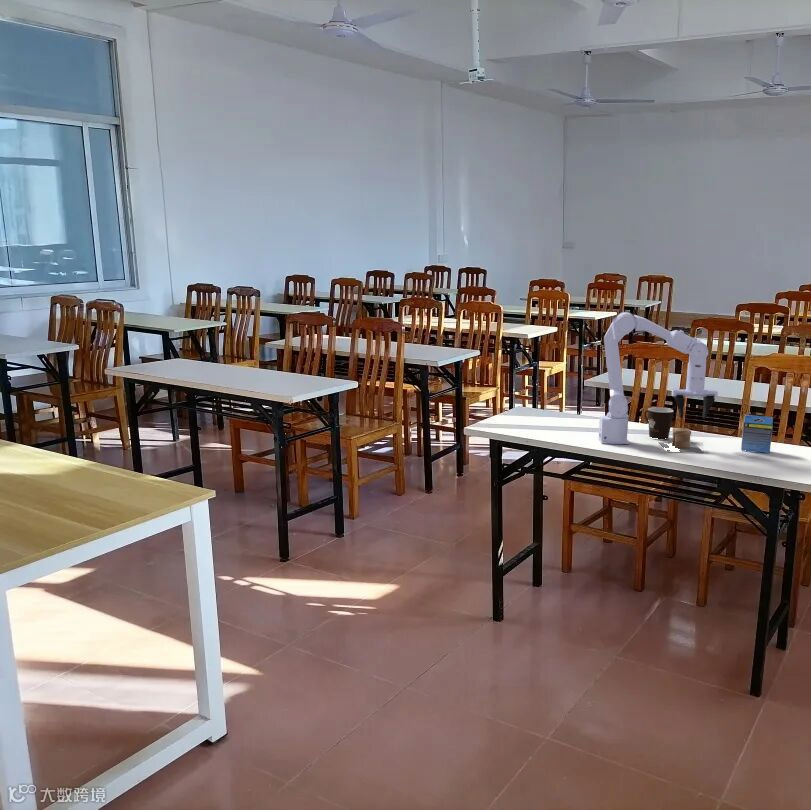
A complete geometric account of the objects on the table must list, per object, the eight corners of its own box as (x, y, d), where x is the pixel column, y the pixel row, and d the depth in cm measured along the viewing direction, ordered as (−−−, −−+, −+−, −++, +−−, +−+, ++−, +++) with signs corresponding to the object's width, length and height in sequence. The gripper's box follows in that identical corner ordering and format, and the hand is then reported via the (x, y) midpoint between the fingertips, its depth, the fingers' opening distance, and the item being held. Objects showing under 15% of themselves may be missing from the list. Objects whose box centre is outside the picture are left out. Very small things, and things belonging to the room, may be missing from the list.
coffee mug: (674, 440, 287) (676, 412, 285) (649, 440, 287) (651, 412, 285) (665, 433, 298) (667, 406, 296) (641, 432, 299) (642, 405, 297)
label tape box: (769, 451, 275) (773, 414, 272) (769, 454, 271) (773, 417, 268) (740, 448, 278) (744, 412, 275) (740, 451, 274) (744, 414, 272)
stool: (674, 448, 275) (675, 430, 274) (671, 445, 279) (672, 427, 278) (689, 448, 274) (691, 431, 273) (686, 445, 279) (688, 428, 278)
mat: (666, 452, 271) (666, 451, 271) (658, 443, 283) (658, 442, 283) (703, 453, 271) (703, 452, 271) (694, 444, 282) (694, 443, 282)
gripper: (676, 379, 272) (673, 419, 274) (721, 380, 271) (718, 420, 273) (671, 375, 278) (668, 415, 281) (715, 376, 277) (712, 416, 280)
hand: (692, 417), depth 278 cm, fingers open, 7 cm apart
